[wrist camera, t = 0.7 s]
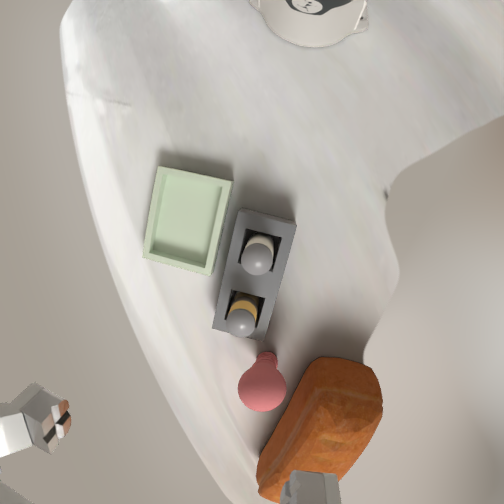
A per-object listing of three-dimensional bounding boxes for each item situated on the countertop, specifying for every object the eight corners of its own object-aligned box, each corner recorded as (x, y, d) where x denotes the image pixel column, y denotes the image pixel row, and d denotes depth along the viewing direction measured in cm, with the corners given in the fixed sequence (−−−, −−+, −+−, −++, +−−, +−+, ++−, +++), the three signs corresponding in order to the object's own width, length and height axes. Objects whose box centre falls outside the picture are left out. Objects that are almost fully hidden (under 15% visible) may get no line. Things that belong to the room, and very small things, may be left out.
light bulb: (235, 359, 52) (225, 404, 40) (262, 333, 50) (256, 375, 39) (267, 381, 53) (264, 427, 41) (294, 356, 51) (297, 401, 39)
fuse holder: (241, 207, 46) (238, 211, 42) (295, 221, 46) (296, 226, 42) (216, 316, 50) (211, 328, 46) (264, 329, 50) (263, 341, 46)
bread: (381, 366, 50) (406, 424, 35) (310, 470, 59) (313, 523, 44) (312, 349, 51) (321, 411, 36) (254, 460, 59) (247, 515, 44)
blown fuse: (237, 284, 49) (228, 308, 40) (262, 290, 49) (258, 315, 40) (232, 306, 50) (223, 333, 41) (256, 312, 50) (251, 340, 41)
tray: (164, 166, 45) (157, 166, 43) (234, 181, 45) (231, 181, 42) (148, 253, 49) (142, 257, 46) (213, 271, 48) (210, 276, 46)
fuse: (251, 228, 46) (245, 241, 38) (276, 234, 46) (276, 249, 38) (245, 252, 47) (237, 270, 39) (270, 259, 47) (268, 278, 39)
